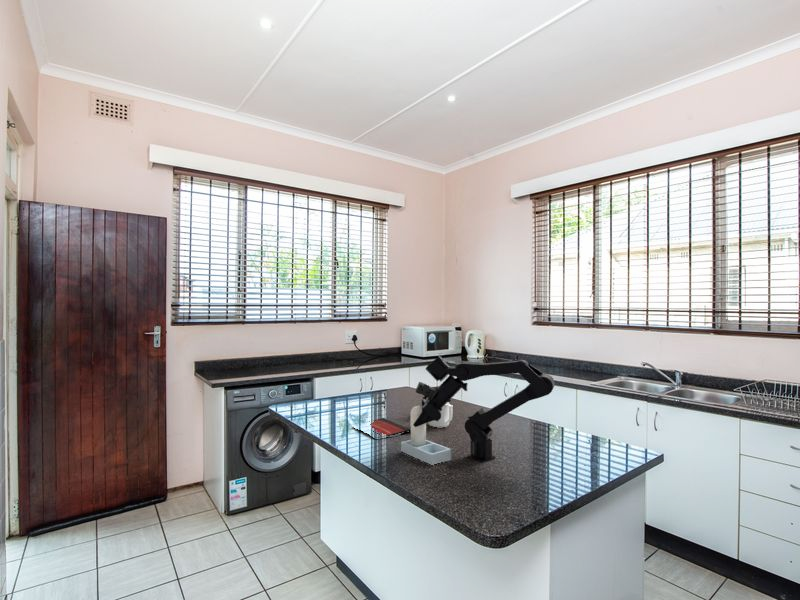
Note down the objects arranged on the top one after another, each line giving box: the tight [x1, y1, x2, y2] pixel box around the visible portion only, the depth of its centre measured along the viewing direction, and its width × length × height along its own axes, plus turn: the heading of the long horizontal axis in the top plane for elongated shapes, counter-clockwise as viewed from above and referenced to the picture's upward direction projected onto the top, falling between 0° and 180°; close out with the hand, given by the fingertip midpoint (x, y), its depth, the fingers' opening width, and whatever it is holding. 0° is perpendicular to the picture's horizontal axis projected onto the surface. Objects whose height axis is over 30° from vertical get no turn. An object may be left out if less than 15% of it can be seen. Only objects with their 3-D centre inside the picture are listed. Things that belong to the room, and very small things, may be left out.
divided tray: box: [400, 439, 452, 466], centre depth 142 cm, size 16×8×4 cm, turn 38°
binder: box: [370, 417, 411, 436], centre depth 172 cm, size 16×2×21 cm
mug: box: [427, 402, 454, 429], centre depth 178 cm, size 12×9×11 cm
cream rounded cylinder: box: [410, 405, 427, 446], centre depth 145 cm, size 5×5×13 cm
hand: (414, 423), depth 145 cm, fingers closed on cream rounded cylinder, 5 cm apart
